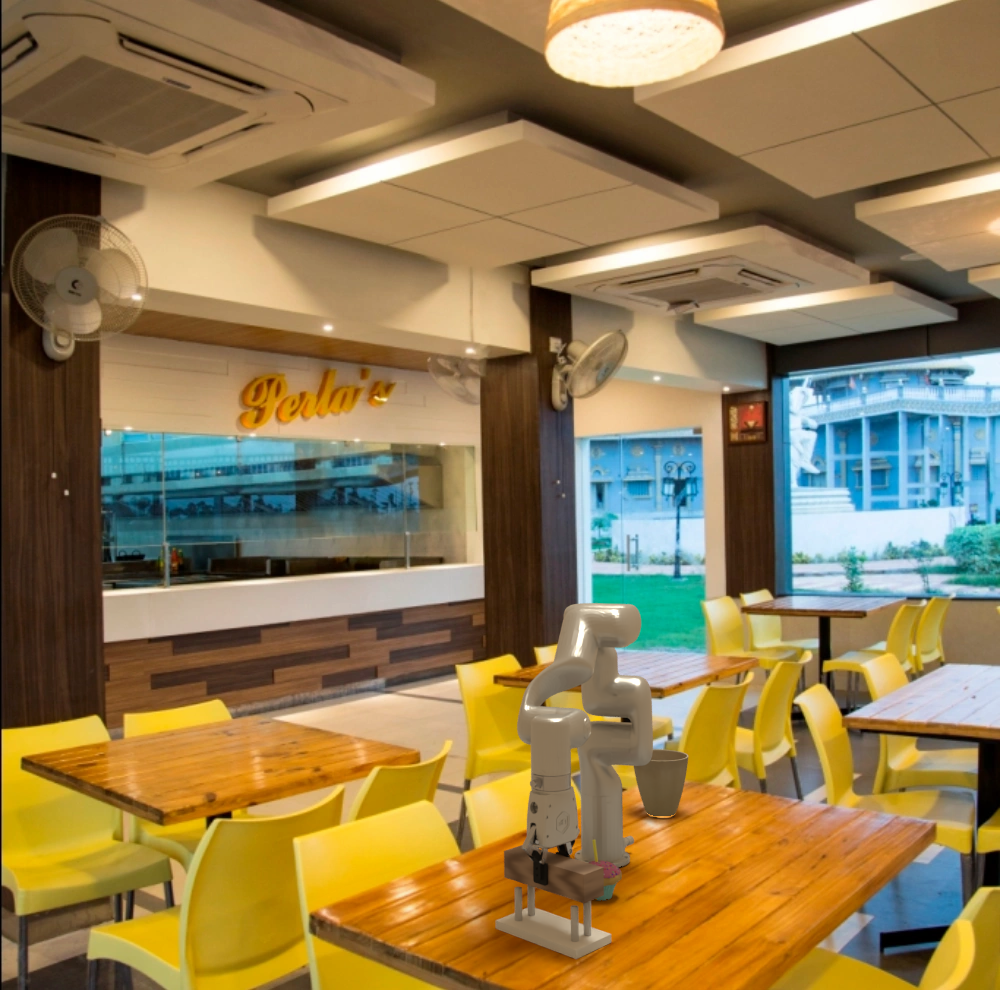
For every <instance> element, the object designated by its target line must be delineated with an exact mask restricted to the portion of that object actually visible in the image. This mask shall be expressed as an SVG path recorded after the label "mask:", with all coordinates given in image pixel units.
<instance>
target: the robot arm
mask: <svg viewBox="0 0 1000 990" xmlns="http://www.w3.org/2000/svg"><path fill="white" fill-rule="evenodd" d="M562 619H563V620H562V623H561V627H560V633H559V637H558V640H557V641H558V642H557V645H556V650H555V655H554V659H553V662H552V663H551V664H550V665H548V666H547V667H545V668H544V669H543V670H542V671H540V672H539V673H538V674H537V675H536V676H535V677H534V678H533V679H532V680H531V681H530V682H529V683H528V686H527V687H526V689H525V690H524V693H523V696H522V700H521V704H520V707H519V712H518V716H517V724H516V726H517V727H516V730H517V735H518V737H519V739H520V741H521V742H523V743H524V744H526V745H530V782H529V785H530V791H529V794H528V795H529V796H528V803H527V813H526V814H527V815H526V837H525V839H524V841H523V844H521V845H522V849H523V850H524V851H525V852H526V853H527V854H528V856H529V857H530V858H531V861H533V881H534V882H535V883H538V884H541V885H544V886H546V885H548V863H545V862H546V857H547V852H549V850H550V849H555V848H556V849H557V851H556V852H555V854H558V855H561V856H565V857H569V858H571V855H572V853H573V847H574V845H575V843H576V840H577V839H578V836H579V834H580V835H581V836H580V837H581V838H580V841H581V845H580V847H581V849H580V850H577V851H576V852H575V854H574V859H576V860H579V861H583V862H586V863H589V862H590V861H595V858H594V850H593V842H592V840H593V836H594V840H595V841H596V849H597V857H598V860H600V861H607V862H611V863H613V864H614V865H616V866H617V867H618V868H621V866H622V867H625V866H626V865H628V864H629V863H630V861H631V856H630V853H628V852H627V851H626V848H627V847H629V846H631V845H633V844H634V843H635V838H634V837H633V836H632V835H628V836H626V837H624V835H623V834H624V833H623V832H624V830H623V829H624V826H623V825H624V824H623V823H624V820H623V819H624V818H623V817H624V816H623V811H624V810H623V783H622V779H621V778H620V776H619V773H618V772H617V770H616V769H615V767H613V766H615V765H618V766H633V767H634V766H643V765H646V764H648V763H649V762H650V760H651V758H652V753H653V750H654V736H653V735H654V731H653V729H654V728H653V726H654V725H653V698H652V690H651V687H650V684H649V681H647V680H646V678H644V677H642V676H640V675H639V676H638V675H631V674H630V675H625V674H623V675H622V674H620V673H619V667H618V664H619V663H618V659H619V658H618V652H617V650H616V648H618V649H619V648H622V649H623V648H627V647H628V646H630V645H631V644H633V643H635V642H636V641H637V640H638V637H639V636H640V633H641V628H642V618H641V614H640V611H639V609H638V608H637V607H636V606H635V605H633V604H630V603H627V604H626V603H598V602H595V603H593V602H586V603H585V602H583V603H575V604H570V605H569V606H567V607H566V608H565V610H564V612H563V618H562ZM579 686H580V688H581V702H582V708H583V710H582V709H580V708H576V707H572V708H571V707H560V706H543V705H542V704H543V703H545V702H546V701H547V700H548V699H550V698H552V696H554V695H557V694H560V693H562V692H565V691H569V690H570V689H573V688H576V687H579ZM588 714H589V715H591V716H594V717H595V716H596V717H605V718H607V717H609V718H623V719H624V718H627V719H629V720H630V722H624V721H623V722H620V721H608V720H607V721H606V720H593V721H591V719H590V716H589V715H588ZM572 749H576V750H577V755H578V762H579V770H580V771H579V772H580V773H579V774H580V828H579V819H578V817H579V816H578V815H579V814H578V805H577V804H578V803H577V798H576V794H575V789H574V786H573V785H572V757H571V755H572V752H571V751H572ZM580 829H581V830H580ZM539 849H541V855H540V854H539V852H538V850H539Z"/></svg>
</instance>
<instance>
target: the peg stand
mask: <svg viewBox="0 0 1000 990" xmlns="http://www.w3.org/2000/svg"><path fill="white" fill-rule="evenodd" d="M526 889H527V890H526V891H527V907H526V908H524V909H523V887H522V886H516V887H515V886H514V912H513V913H511V914H508V915H505V916H504V917H501V918H498V919H495V929H496V930H499V931H501V932H504V933H506V934H510V935H512V936H514V937H517V938H520V939H522V940H525V941H527V942H530V943H533V944H535V945H538V946H541V947H543V948H546V949H548V950H551V951H554V952H556V953H560V955H561V954H562V955H564V956H566V957H569V958H572V959H575V960H578V959H580V958H582V957H584V956H586V955H588V954H591V953H592V952H595V951H596V950H599V949H600V948H603V947H604V946H607V945H609V944H611V943H612V933H610V932H606V931H604V930H600V929H598V928H595V927H592V900H591V901H589V902H587V903H582V904H583V907H582V909H583V912H582V913H583V923H580V922H579V921H580V919H579V905H574V904H572V905H571V906H570V919H569V918H566V917H564V916H563V917H562V916H560V915H557V914H554V913H552V912H549V911H546V910H544V909H540V908H537V907H536V903H535V901H536V894H535V893H536V891H535V890H536V887H532V886H529V885H527V888H526Z"/></svg>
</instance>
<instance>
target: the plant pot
mask: <svg viewBox="0 0 1000 990" xmlns="http://www.w3.org/2000/svg"><path fill="white" fill-rule="evenodd" d="M688 762H689V755H688V753H685V752H683V751H678V750H672V749H671V750H670V749H653V753H652V758H651V760H650V762H649V763H648V764H646V765H643V766H633V771H634V777H635V780H636V784H637V788H638V792H639V796H640V799H641V801H642V805H643V807H644V810H645V812H647V813H648V814H650V815H653V816H671V815H674V814H675V813H676V814H677V811H678V807H679V805H680V802H681V799H682V798H681V797H682V795H683V790H684V787H685V783H686V776H687V772H688V770H687V769H688V765H689V764H688ZM647 813H646V814H647ZM676 814H675V815H676Z"/></svg>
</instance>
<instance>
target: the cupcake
mask: <svg viewBox="0 0 1000 990" xmlns="http://www.w3.org/2000/svg"><path fill="white" fill-rule="evenodd" d="M592 842H593V850H594V858H595V861H590V862H589V863H590V864H593V865H597V866H600V867H603V868H604V896H601V897H599V898H596V899H597V900H596V901H601V900H602V901H607V900H606V899H608V900H610V899H612V898H613V894H614V891H615V887H616V885H617V883H619V881H621V880H622V875H623V873H622V871H621V869H620V867H617V866H616V865H614V864H613V863H611V862H607V861H600V860H598V857H597V849H596V841H595V840H594V836H593V840H592Z"/></svg>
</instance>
